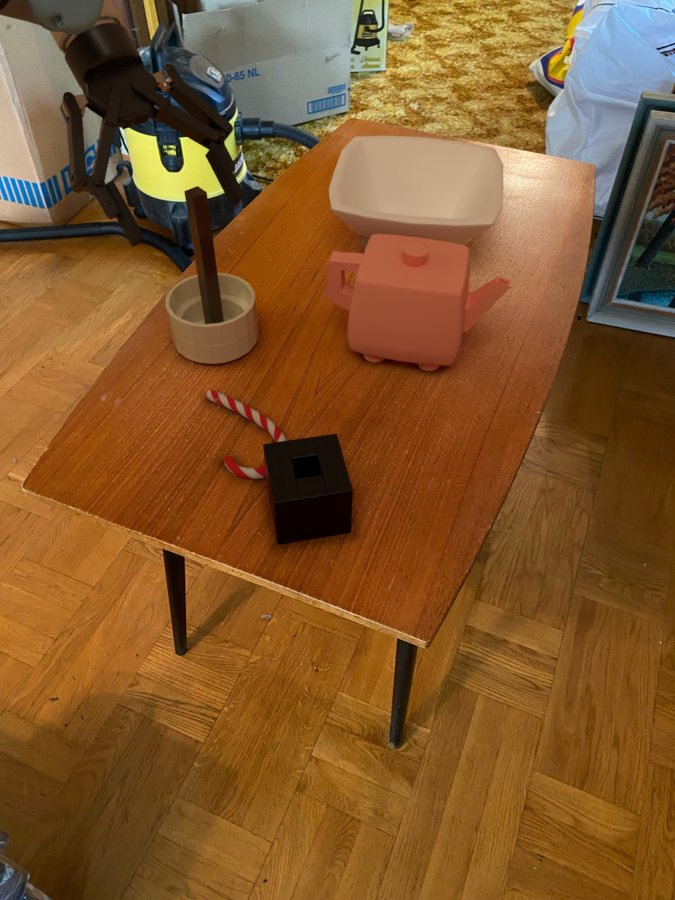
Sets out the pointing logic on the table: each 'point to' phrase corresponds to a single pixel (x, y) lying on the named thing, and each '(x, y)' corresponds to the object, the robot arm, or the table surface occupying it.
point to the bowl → (417, 188)
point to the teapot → (409, 298)
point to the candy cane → (254, 417)
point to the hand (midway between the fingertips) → (190, 221)
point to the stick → (204, 254)
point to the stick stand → (308, 488)
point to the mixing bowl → (215, 338)
